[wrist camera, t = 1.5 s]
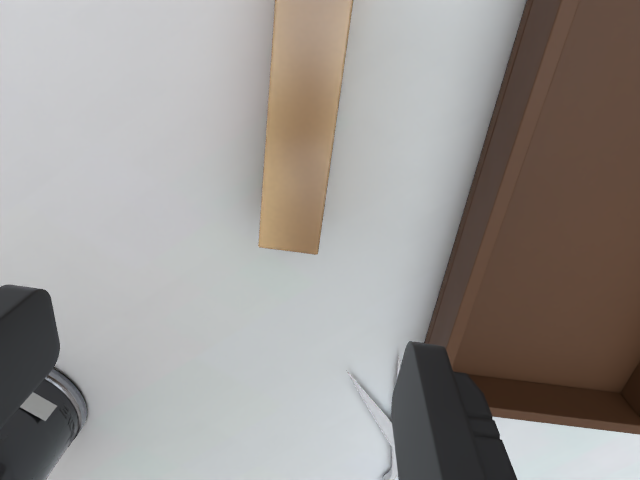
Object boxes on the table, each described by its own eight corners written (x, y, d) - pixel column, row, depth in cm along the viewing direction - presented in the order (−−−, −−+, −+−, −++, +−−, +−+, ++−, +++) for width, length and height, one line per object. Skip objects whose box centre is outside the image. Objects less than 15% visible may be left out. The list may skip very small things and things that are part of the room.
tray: (416, 368, 31) (426, 409, 28) (587, -205, 17) (649, -266, 14) (619, 393, 31) (654, 436, 28) (947, -150, 18) (1094, -196, 14)
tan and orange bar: (248, 212, 26) (231, 244, 22) (275, -297, 16) (255, -406, 12) (342, 224, 26) (343, 258, 22) (424, -273, 17) (452, -375, 13)
